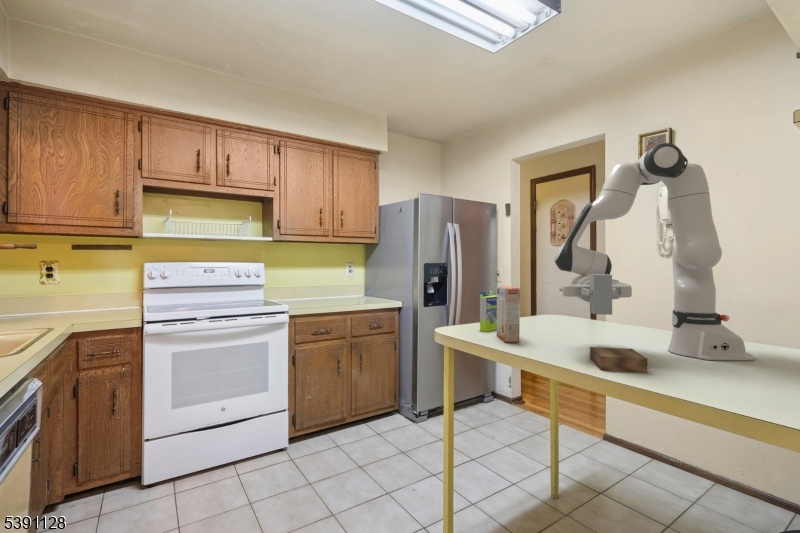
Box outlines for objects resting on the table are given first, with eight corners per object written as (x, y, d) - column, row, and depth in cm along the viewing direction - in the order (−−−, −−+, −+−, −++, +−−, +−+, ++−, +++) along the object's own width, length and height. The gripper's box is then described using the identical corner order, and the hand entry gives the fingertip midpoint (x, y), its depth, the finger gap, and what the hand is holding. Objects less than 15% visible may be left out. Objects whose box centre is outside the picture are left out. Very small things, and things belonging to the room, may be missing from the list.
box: (486, 332, 166) (486, 292, 166) (478, 330, 170) (478, 292, 169) (500, 329, 174) (500, 291, 173) (492, 328, 177) (492, 290, 176)
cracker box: (520, 343, 145) (520, 288, 145) (504, 343, 145) (504, 288, 145) (510, 335, 159) (510, 285, 159) (496, 335, 159) (496, 285, 159)
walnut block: (631, 361, 119) (631, 348, 119) (647, 372, 107) (647, 358, 107) (589, 359, 122) (590, 346, 122) (600, 370, 110) (600, 356, 110)
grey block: (607, 312, 120) (607, 274, 120) (612, 314, 116) (612, 274, 115) (590, 312, 122) (589, 274, 121) (594, 314, 117) (594, 275, 117)
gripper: (557, 279, 133) (565, 282, 120) (622, 279, 129) (638, 282, 115) (558, 298, 134) (565, 302, 120) (623, 298, 129) (638, 303, 115)
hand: (601, 292), depth 118 cm, fingers closed on grey block, 5 cm apart
